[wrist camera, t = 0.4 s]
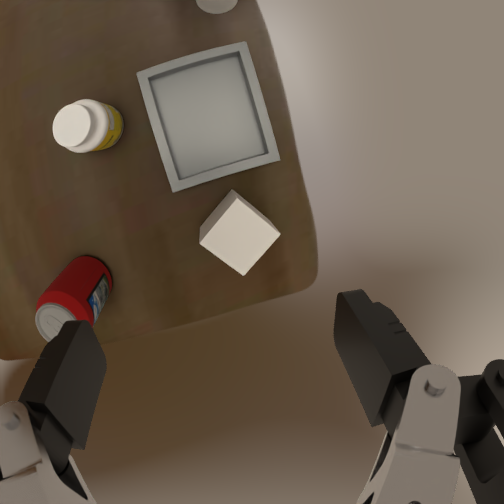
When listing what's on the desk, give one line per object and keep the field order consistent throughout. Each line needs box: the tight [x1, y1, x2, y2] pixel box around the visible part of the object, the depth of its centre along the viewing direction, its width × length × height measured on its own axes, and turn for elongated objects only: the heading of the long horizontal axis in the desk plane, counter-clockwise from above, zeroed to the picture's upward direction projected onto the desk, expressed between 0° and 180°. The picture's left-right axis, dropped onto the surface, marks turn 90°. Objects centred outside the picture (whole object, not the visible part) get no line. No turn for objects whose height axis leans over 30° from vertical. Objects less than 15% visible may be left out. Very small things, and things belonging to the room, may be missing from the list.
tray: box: [137, 41, 280, 193], centre depth 31 cm, size 14×12×3 cm
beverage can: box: [35, 256, 112, 342], centre depth 31 cm, size 7×7×12 cm
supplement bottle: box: [53, 99, 124, 153], centre depth 26 cm, size 5×5×10 cm
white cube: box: [199, 189, 280, 276], centre depth 34 cm, size 6×6×6 cm
